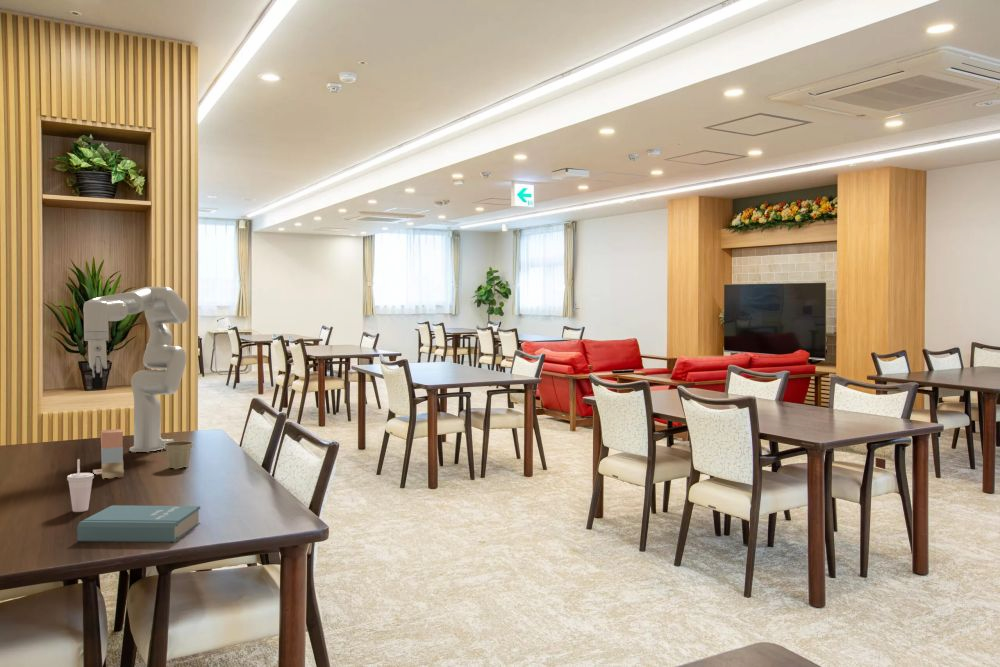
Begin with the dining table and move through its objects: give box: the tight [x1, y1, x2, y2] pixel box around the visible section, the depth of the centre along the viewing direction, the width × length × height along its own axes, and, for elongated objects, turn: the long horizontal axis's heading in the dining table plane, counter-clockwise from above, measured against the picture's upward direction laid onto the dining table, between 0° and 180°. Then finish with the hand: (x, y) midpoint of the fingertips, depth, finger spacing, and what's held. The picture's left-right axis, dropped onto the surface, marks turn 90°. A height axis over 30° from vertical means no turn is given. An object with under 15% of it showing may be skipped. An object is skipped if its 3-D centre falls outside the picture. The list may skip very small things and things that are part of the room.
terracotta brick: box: [100, 428, 124, 448], centre depth 242 cm, size 6×6×5 cm
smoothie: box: [66, 458, 95, 513], centre depth 200 cm, size 6×6×14 cm
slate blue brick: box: [100, 447, 124, 465], centre depth 242 cm, size 6×6×5 cm
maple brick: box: [101, 461, 124, 480], centre depth 242 cm, size 6×6×5 cm
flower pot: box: [164, 440, 194, 469], centre depth 257 cm, size 9×9×9 cm
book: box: [76, 504, 201, 543], centre depth 182 cm, size 23×16×5 cm
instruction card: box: [92, 468, 125, 475], centre depth 249 cm, size 9×7×1 cm
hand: (97, 388), depth 255 cm, fingers closed
